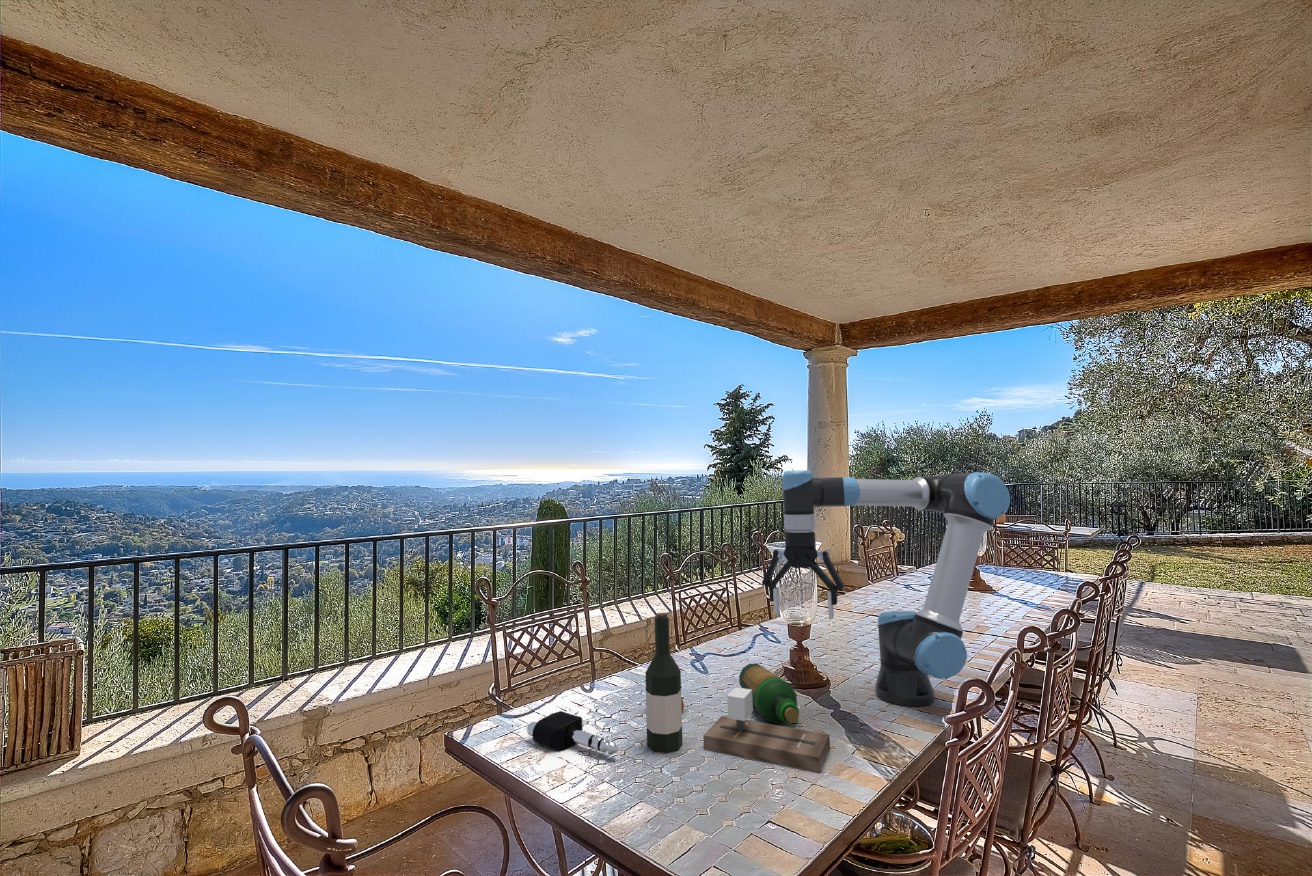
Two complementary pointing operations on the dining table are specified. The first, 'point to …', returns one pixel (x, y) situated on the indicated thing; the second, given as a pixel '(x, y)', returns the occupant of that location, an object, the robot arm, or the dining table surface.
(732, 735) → the fader board
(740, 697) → the fader knob
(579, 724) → the audio adapter
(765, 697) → the bottle
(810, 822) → the dining table surface
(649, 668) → the wine bottle
